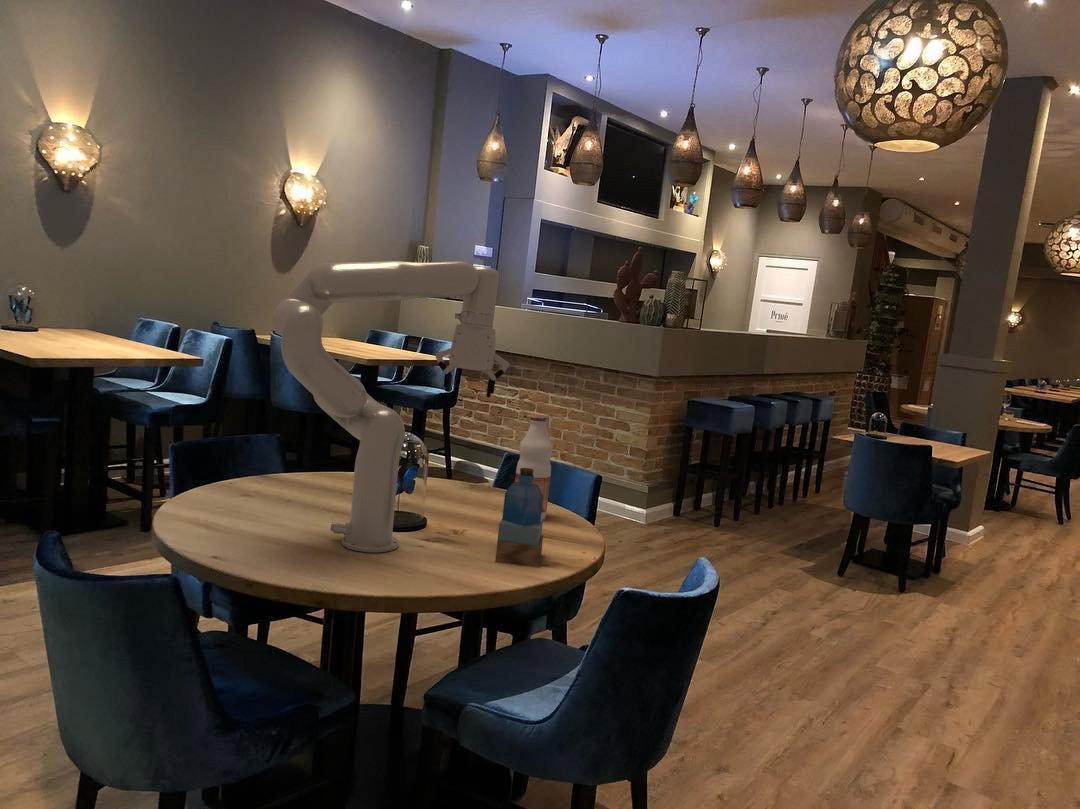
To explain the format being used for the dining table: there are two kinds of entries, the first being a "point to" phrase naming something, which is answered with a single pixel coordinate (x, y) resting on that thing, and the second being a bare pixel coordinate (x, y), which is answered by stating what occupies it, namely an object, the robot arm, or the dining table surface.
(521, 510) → the perfume bottle
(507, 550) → the tower base
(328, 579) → the dining table surface
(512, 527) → the tower top
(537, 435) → the fruit juice
